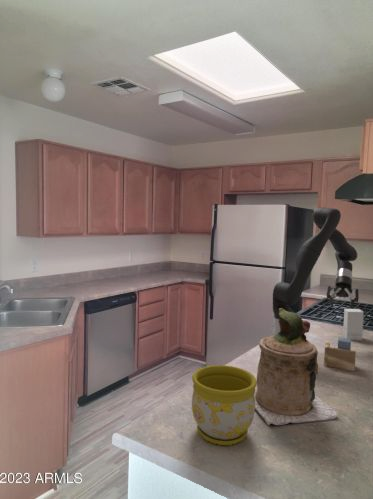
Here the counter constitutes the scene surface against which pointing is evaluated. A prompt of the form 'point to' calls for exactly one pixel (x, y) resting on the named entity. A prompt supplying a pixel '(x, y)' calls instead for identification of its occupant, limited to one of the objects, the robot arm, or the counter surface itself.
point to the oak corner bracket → (339, 357)
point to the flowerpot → (223, 403)
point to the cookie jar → (289, 375)
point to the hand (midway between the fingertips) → (341, 306)
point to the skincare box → (353, 324)
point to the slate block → (344, 343)
